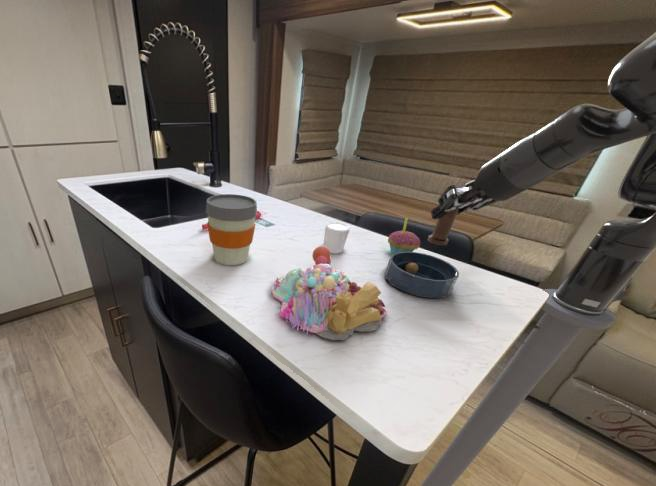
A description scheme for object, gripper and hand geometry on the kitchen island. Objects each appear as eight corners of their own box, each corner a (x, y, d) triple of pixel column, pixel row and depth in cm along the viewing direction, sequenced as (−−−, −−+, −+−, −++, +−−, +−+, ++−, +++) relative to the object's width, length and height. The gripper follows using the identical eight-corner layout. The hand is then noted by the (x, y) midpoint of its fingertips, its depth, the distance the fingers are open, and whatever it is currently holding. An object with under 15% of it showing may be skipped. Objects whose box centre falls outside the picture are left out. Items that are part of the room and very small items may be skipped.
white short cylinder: (334, 243, 94) (339, 221, 91) (349, 252, 89) (355, 229, 86) (316, 246, 92) (320, 223, 88) (330, 255, 87) (335, 232, 83)
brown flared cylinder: (440, 238, 71) (462, 184, 64) (450, 245, 68) (475, 189, 61) (424, 238, 70) (444, 183, 64) (433, 245, 67) (456, 188, 61)
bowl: (428, 269, 83) (435, 252, 80) (464, 300, 71) (473, 281, 68) (375, 268, 82) (380, 250, 79) (401, 299, 69) (408, 280, 67)
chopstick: (263, 221, 109) (255, 213, 111) (264, 216, 108) (256, 208, 110) (206, 235, 96) (198, 226, 97) (207, 229, 94) (199, 220, 96)
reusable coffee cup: (204, 267, 77) (202, 207, 68) (209, 246, 87) (208, 192, 79) (254, 269, 77) (258, 210, 69) (253, 248, 88) (257, 195, 79)
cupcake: (398, 263, 85) (413, 221, 78) (377, 251, 91) (389, 211, 85) (420, 259, 88) (437, 218, 81) (399, 247, 94) (412, 209, 88)
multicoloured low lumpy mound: (404, 311, 65) (419, 273, 60) (338, 361, 52) (351, 317, 47) (313, 266, 80) (319, 233, 75) (244, 296, 67) (246, 257, 62)
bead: (412, 270, 80) (416, 260, 79) (418, 276, 78) (422, 266, 76) (401, 270, 80) (405, 260, 79) (406, 276, 78) (410, 265, 76)
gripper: (545, 148, 53) (461, 199, 70) (481, 146, 50) (408, 200, 67) (558, 187, 52) (469, 230, 69) (493, 187, 49) (416, 232, 65)
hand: (440, 215), depth 68 cm, fingers closed on brown flared cylinder, 3 cm apart
